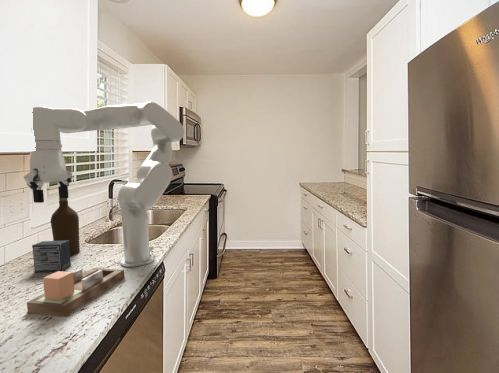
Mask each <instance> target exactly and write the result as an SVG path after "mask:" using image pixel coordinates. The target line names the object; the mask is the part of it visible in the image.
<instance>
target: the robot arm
mask: <svg viewBox="0 0 499 373" xmlns="http://www.w3.org/2000/svg"><path fill="white" fill-rule="evenodd" d="M32 108H33V112H32V113H33V130H34V136H35V142H36V147H35V148H36V151H30V158H29V172H28V173H27V174H24V176H23V179H24V181H25V182H26V186H28V187H29V188H30V190H31V191H32V194H33V196H32V197H33V203H37V204H41V203H45V197H44V196H45V195H44V190H43V189H42V188H43V187H44V184H47V183H57V184H58V185H59V186H58V199H59V198H67V199H69V189H68V188H69V186H70V183H71V180H72V176H73V173H72V171H69V170H67V166H66V165H67V164H66V162H65V161H66V159H65V156H64V153H63V151H62V148H63V144H62V141H61V133H63V134H75V133H83V132H93V131H109V130H110V131H111V130H119V129H127V128H128V129H129V128H137V127H139V128H140V127H144V126H145V127H146V126H152V127H151V131H150V136H151V139H152V140H151V141H152V150H151V151H150V152H149V154H148V156H147V157H146V158H145V159H144V161H143V163H142V164H141V165H140V166H139V167H138V169H137V171H136V178H137V180H138V181H139V182H140V183H139V182H138V183H137V182H130V183H126V184H124V185H123V186H121V188H120V189H119V190H118V195H117V197H118V198H117V199H118V204H119V209H120V213H121V214H120V215H121V224H122V227H121V228H122V240H123V241H122V242H123V258H121V260H120V261H119V262H120V263H119V264H120V265H121V266H122V267H127V268H132V267H133V268H134V267H135V268H136V267H141V266H142V267H143V266H146V265H149V264H150V263H153V262H154V260H155V257H154V255H153V254H151V252H152V251H154V250H155V249H154V248H155V247H154V246H153V245H151V246H150V240H149V238H150V235H149V218H148V212H147V210H149V209H151V208H153V207H154V206H155V205H156V204H157V203H158V201H159V200H160V199H161V197H162V196H163V194H164V193H165V191H166V189H167V188H168V187H169V185H170V184H171V181H172V178H173V169H172V168H171V166H170V165H169V164H170V162H171V160H172V159H173V147H172V143H173V142H174V143H176V142H179V141H181V140H182V138H183V137H184V135H185V128H184V125H183V123H181V122H180V121H179V120H178V119H177V118H176V117H175V116H174V115H172V114H171V113H170V112H169V111H168V110H166V109H165V108H163V107H162V106H161V105H159V104H158V103H157V102H154V101H146V102H143V103H133V104H120V105H119V104H117V105H116V104H115V105H113V104H112V105H105V106H102V107H97V108H92V109H86V110H80V109H78V108H74V107H73V108H53V107H49V106H34V107H32Z"/></svg>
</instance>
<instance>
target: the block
mask: <svg viewBox="0 0 499 373" xmlns="http://www.w3.org/2000/svg"><path fill="white" fill-rule="evenodd" d="M73 272H74V271H57V272H52V273H51V274H48V275H45V277H42V279H43V280H42V281H43V291H44V293H45V299H53V300H62V299H63V298H65V297H67V296H69V295H70V294H72V293H74V282H73ZM44 293H43V294H44Z"/></svg>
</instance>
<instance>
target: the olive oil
mask: <svg viewBox="0 0 499 373" xmlns="http://www.w3.org/2000/svg"><path fill="white" fill-rule="evenodd" d="M58 200H59V201H58V204H59V206H58V208H57V209H56V210H55V211H54V212H53V213H52V215H51V217H50V226H51V233H52V238H53V239H52V241H64V240H69V247H70V256H74V255H76V254H79V253H80V248H81V247H80V218H79V214H78V212H77V211H75V209H73V208H72V207H70V206H69V200H68V198H59V197H58Z"/></svg>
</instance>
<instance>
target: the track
mask: <svg viewBox="0 0 499 373" xmlns="http://www.w3.org/2000/svg"><path fill="white" fill-rule="evenodd" d="M72 272H73V282H74V293H72V294H70V295H69V296H67V297H65V298H63V299H62V300H53V299H45V293H42V294H40V295H38V296H37V297H34V298H33V299H30V300H29V301H27V302H26V306H27V307H26V308H27V313H28V314H37V315H44V316H45V315H46V316H48V315H49V316H56V317H57V316H59V317H67V316H69V315H70V314H72V313H73V312H75V311H76V310H78V309H79V308H81V307H83V306H84V305H85V304H87V303H88V302H91V301H92V300H94V299H95V298H96V297H98V296H100V295H101V294H103V293H104V292H105V291H107V290H109V289H110V288H112V287H113V286H115V285H116V284H118V283H120V282H121V281H122V280H125V269H119V268H118V269H117V268H115V269H114V268H101V267H98V268H97V267H93V268H91V269H88V270H86V272H83V268H78V269H75V270H74V271H72Z"/></svg>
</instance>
